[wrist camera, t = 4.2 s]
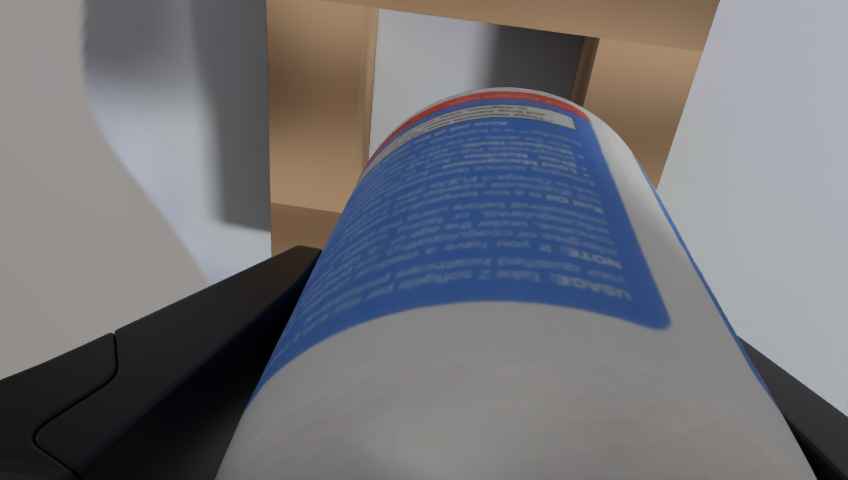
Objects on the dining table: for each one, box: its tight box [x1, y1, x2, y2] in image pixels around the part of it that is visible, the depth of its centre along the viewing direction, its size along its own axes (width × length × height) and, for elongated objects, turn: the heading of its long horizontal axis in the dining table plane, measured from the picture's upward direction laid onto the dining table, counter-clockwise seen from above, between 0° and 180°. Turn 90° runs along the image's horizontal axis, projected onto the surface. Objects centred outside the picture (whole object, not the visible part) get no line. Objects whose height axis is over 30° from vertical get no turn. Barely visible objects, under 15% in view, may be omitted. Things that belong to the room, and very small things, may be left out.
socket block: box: [266, 0, 720, 257], centre depth 19 cm, size 12×12×2 cm
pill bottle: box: [215, 87, 817, 480], centre depth 7 cm, size 6×5×10 cm
